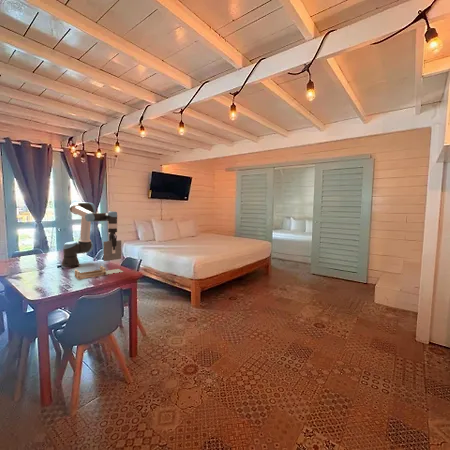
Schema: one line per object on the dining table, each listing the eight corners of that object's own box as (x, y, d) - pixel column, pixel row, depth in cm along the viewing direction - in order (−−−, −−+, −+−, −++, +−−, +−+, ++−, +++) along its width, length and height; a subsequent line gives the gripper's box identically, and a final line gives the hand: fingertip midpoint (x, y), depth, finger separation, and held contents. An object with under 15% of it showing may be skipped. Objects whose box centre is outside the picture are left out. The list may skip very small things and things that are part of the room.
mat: (101, 271, 224) (101, 271, 224) (118, 269, 235) (118, 268, 235) (106, 274, 216) (106, 274, 216) (123, 272, 226) (123, 271, 226)
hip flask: (120, 258, 231) (120, 237, 230) (122, 258, 229) (122, 238, 227) (103, 260, 220) (102, 238, 218) (104, 261, 217) (104, 239, 216)
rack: (74, 276, 208) (74, 269, 207) (101, 272, 223) (101, 265, 223) (77, 279, 200) (77, 272, 200) (105, 274, 216) (105, 268, 216)
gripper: (105, 227, 225) (105, 251, 227) (112, 229, 214) (112, 254, 215) (113, 227, 231) (113, 251, 233) (120, 228, 219) (120, 253, 221)
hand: (112, 252), depth 224 cm, fingers closed on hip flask, 4 cm apart
